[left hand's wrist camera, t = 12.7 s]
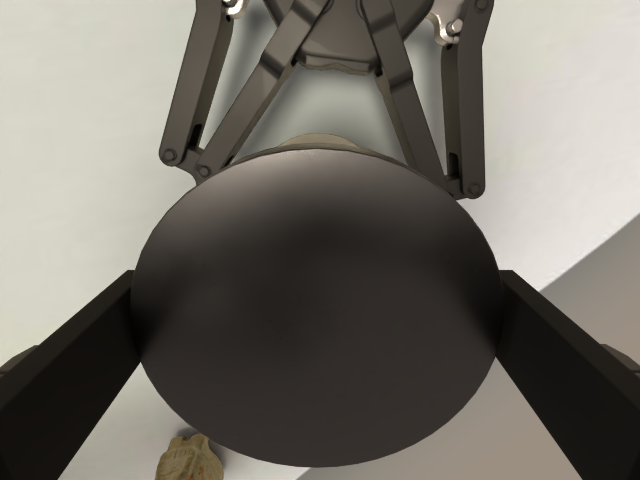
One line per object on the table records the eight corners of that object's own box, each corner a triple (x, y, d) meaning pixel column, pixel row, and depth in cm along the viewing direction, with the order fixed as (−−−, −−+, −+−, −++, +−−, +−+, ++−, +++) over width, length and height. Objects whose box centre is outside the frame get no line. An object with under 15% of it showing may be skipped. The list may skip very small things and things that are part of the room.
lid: (176, 432, 15) (160, 467, 13) (122, 140, 10) (90, 146, 9) (456, 432, 15) (471, 468, 13) (513, 143, 10) (544, 149, 9)
